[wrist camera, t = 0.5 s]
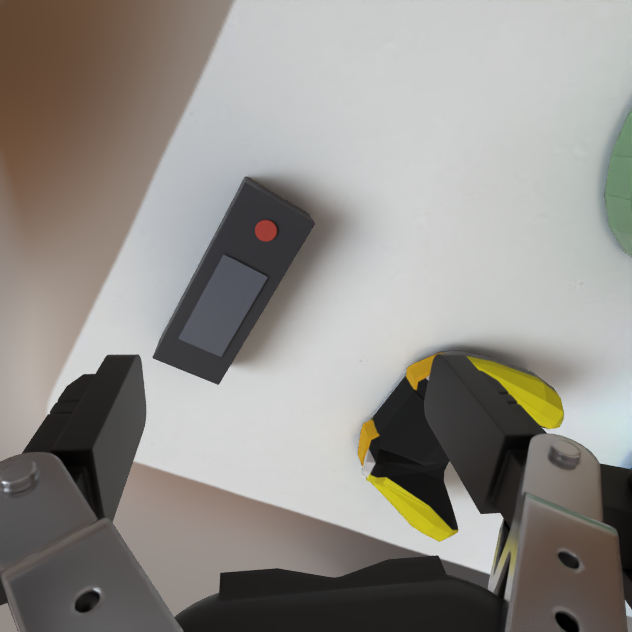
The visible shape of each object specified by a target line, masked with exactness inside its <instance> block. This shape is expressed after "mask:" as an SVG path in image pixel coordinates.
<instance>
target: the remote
mask: <svg viewBox="0 0 632 632" xmlns="http://www.w3.org/2000/svg"><path fill="white" fill-rule="evenodd" d="M314 224H315V223H314V221H313V219H312V218H311V216H310V214H308V213H307V212H305V211H303V210H301V209H300V208H298V207H296V206H295V205H293V204H291V203H290V202H288V201H286V200H284V199H283V198H281V197H279V196H278V195H276V194H274V193H273V192H271V191H269V190H268V189H266V188H264V187H262V186H261V185H259V184H257V183H256V182H254V181H252V180H251V179H249V178H247V177H245V178H244V180H243V181H242V183H241V185H240V187H239V189H238V191H237V193H236V195H235V197H234V199H233V201H232V202H231V204H230V206H229V208H228V210H227V212H226V214H225V216H224V218H223V220H222V222H221V223H220V225H219V227H218V229H217V231H216V233H215V235H214V237H213V239H212V241H211V243H210V244H209V246H208V248H207V250H206V252H205V254H204V256H203V258H202V260H201V262H200V264H199V266H198V267H197V269H196V271H195V273H194V275H193V277H192V279H191V281H190V283H189V285H188V287H187V288H186V290H185V292H184V294H183V296H182V298H181V300H180V302H179V304H178V306H177V308H176V309H175V311H174V313H173V315H172V317H171V319H170V321H169V323H168V325H167V327H166V329H165V331H164V332H163V334H162V336H161V338H160V340H159V343H158V345H157V348H156V350H155V353H154V355H153V358H154V359H156V360H159V361H161V362H163V363H166V364H168V365H171V366H173V367H176V368H178V369H181V370H183V371H186V372H188V373H191V374H193V375H196V376H198V377H200V378H203V379H205V380H208V381H210V382H213V383H215V384H218V385H219V383H220V382H221V380H222V378H223V377H224V375H225V373H226V372H227V370H228V368H229V367H230V365H231V363H232V362H233V360H234V358H235V357H236V355H237V353H238V352H239V350H240V348H241V346H242V345H243V343H244V341H245V340H246V338H247V336H248V335H249V333H250V331H251V330H252V328H253V326H254V325H255V323H256V321H257V320H258V318H259V316H260V315H261V313H262V311H263V310H264V308H265V306H266V305H267V303H268V301H269V300H270V298H271V296H272V295H273V293H274V291H275V290H276V288H277V286H278V285H279V283H280V281H281V280H282V278H283V276H284V275H285V273H286V271H287V269H288V268H289V266H290V264H291V263H292V261H293V259H294V258H295V256H296V254H297V253H298V251H299V249H300V248H301V246H302V244H303V243H304V241H305V239H306V238H307V236H308V234H309V233H310V231H311V229H312V228H313V226H314Z"/></svg>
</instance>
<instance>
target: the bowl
mask: <svg viewBox="0 0 632 632" xmlns="http://www.w3.org/2000/svg"><path fill="white" fill-rule="evenodd" d="M605 202H606V209H607V216H608V223H609V227H610V229H611V231H612V232H613V234H614V236H615V237H616V239H617V241H618V243H619V244H620V246H621V248H622V249H623V251H624V252H625V253H626V254H628V255H629V256H631V257H632V110H631V111H630V113H629V114H628V116H627V119H626V121H625V123H624V125H623V128H622V130H621V132H620V135H619V137H618V139H617V142H616V144H615V146H614V149H613V151H612V153H611V158H610V164H609V170H608V176H607V182H606V189H605Z"/></svg>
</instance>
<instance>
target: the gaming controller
mask: <svg viewBox="0 0 632 632" xmlns="http://www.w3.org/2000/svg"><path fill="white" fill-rule="evenodd" d="M437 354H464V355H465V356H467V358H468V359H469V360H470V361H471V362H472V363H473V364H474V365H475V367H476V368H477V369H478V370H479V371H483V372H485V373H486V374H488V375H490V376H491V377H493V378H495V379H496V380H498V381H499V382H500V383H501V384H502V386H503V387H504V388H505V389H506V390H507V391H508V392H509V394H511V395H512V396H513V397H514V398H515V400H516V401H517V404H520V405H521V406H522V407H523V408H524V409H525V410H526V411H527V412H528V414H529V415H530V416H531V417H532V418H533V419H534V420H535V421H536V422H537V423H538V424H539V425H540V426H541V427H543V428H547V429H553V428H558V427H560V425H561V424H562V421H563V419H564V411H563V406H562V402H561V398H560V397H559V395H558V394H557V392H556V391H555V389H554V388H553V387H551V386H550V385H549V384H547V383H546V382H545V381H543V380H542V379H541V378H539V377H538V376H537V375H535V374H534V373H533V372H531V371H528V370H525V369H522V368H519V367H517V366H514V365H511V364H508V363H505V362H503V361H500V360H497V359H494V358H492V357H489V356H484V355H478V354H473V353H467V352H462V351H448V352H439V353H437ZM437 354H435V355H437ZM435 355H433V356H430V357H428V358H426V359H423V360H421V361H419V362H416V363H414V364H413V365H411V366H409V367H408V368H407V373H406V376H405V377H404V379H403V380H402V381H401V382H400V384H399V385H398V386H397V387H396V389H395V390H394V391H393V392H392V394H391V395H390V396H389V398H388V399H387V400H386V401H385V403H384V404H383V405H382V406H381V408H380V409H379V410H378V411H377V413H376V414H375V415H374V417H373V418H372V420H370V421H368V422H366V423H364V424H363V426H362V429H361V434H360V441H359V447H358V456H359V459H360V462H361V464H362V467H363V468H362V474H364V475H365V476H366V479H367V481H370V482H371V483H372V484H373V485H374V486H375V487H376V488H377V489H378V490H379V491H380V492H381V493H382V494H383V495H384V497H385V498H386V499H387V500H388V501H389V502H390V503H391V504H392V505H393V506H394V507H395V508H396V510H397V511H398V512H399V513H400V514H401V515H402V516H403V517H404V518H405V519H406V520H407V521H408V522H409V524H410V525H411V526H412V527H414V528H415V529H417V530H419V531H420V532H422V533H423V534H425V535H427V536H429V537H431V538H433V539H435V540H437V541H439V542H440V541H442V540H444V539H446V538H448V537H451V536H452V535H454V534H456V533H457V532H458V526H457V522H456V519H455V515H454V512H453V508H452V505H451V502H450V499H449V496H448V493H447V490H446V487H445V484H444V471H445V469H446V466H447V464H448V462H449V461H450V460H449V458H448V456H447V455H446V453H445V451H444V449H443V448H442V446H441V444H440V443H439V441H438V439H437V437H436V436H435V434H434V432H433V430H432V429H431V427H430V425H429V423H428V422H427V419H426V416H425V411H424V400H425V395H426V390H427V385H428V380H429V376H430V371H431V366H432V362H433V359H434V357H435Z"/></svg>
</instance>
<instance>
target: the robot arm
mask: <svg viewBox="0 0 632 632" xmlns="http://www.w3.org/2000/svg"><path fill="white" fill-rule="evenodd" d="M424 411H425V416H426V419H427V422H428V423H429V425H430V427H431V429H432V430H433V432H434V434H435V436H436V437H437V439H438V441H439V443H440V444H441V446H442V448H443V449H444V451H445V453H446V455H447V456H448V458H449V460H450V462H451V463H452V465H453V467H454V469H455V470H456V472H457V474H458V476H459V477H460V479H461V481H462V482H463V484H464V486H465V488H466V489H467V491H468V493H469V495H470V496H471V498H472V500H473V502H474V503H475V505H476V507H477V508H478V510H479V512H480V514H488V513H501V515H502V516H503V518H504V519H503V522H502V525H501V527H500V531H499V536H498V541H497V546H496V551H495V555H494V560H493V565H492V570H491V575H490V580H489V585H488V589H485V588H483V587H481V586H479V585H477V584H475V583H472V582H470V581H468V580H465V579H462V578H459V577H455V576H452V575H447V574H446V572H445V570H444V568H443V565H442V563H441V561H440V558H439V556H426V557H414V558H401V559H389V560H385V561H383V562H380V563H378V564H374V565H372V566H369V567H366V568H363V569H361V570H358V571H355V572H352V573H350V574H347V575H344V576H341V577H336V578H332V577H325V576H319V575H313V574H307V573H302V572H296V571H290V570H283V569H277V568H276V569H264V570H252V571H239V572H226V573H221V574H220V590H219V593H217V594H214V595H212V596H208V597H206V598H204V599H202V600H200V601H198V602H196V603H194V604H193V605H191V606H190V607H188V608H186V609H185V610H183V611H182V612H180V613H179V614H178V615H176V616H175V617H174V616H173V615H172V613H171V611H170V610H169V608H168V607H167V605H166V604H165V602H164V601H163V599H162V598H161V596H160V595H159V593H158V591H157V590H156V589H155V587H154V585H153V584H152V582H151V581H150V579H149V578H148V576H147V575H146V573H145V572H144V570H143V569H142V567H141V566H140V564H139V563H138V561H137V560H136V558H135V556H134V555H133V553H132V552H131V551H130V549H129V548H128V546H127V544H126V543H125V541H124V540H123V538H122V537H121V535H120V534H119V532H118V530H117V529H116V527H115V526H114V525H113V523H112V522H113V519H114V516H115V513H116V510H117V508H118V505H119V502H120V499H121V496H122V493H123V489H124V487H125V484H126V481H127V478H128V475H129V472H130V469H131V466H132V463H133V460H134V457H135V454H136V451H137V448H138V445H139V442H140V439H141V436H142V433H143V430H144V427H145V421H146V399H145V390H144V380H143V371H142V362H141V358H140V356H139V355H107V356H106V357H105V359H104V361H103V362H102V364H101V366H100V367H99V369H98V371H97V372H96V374H84V375H82V376H81V377H79V378H78V379H77V380H75V381H74V382H72V383H71V384H69V385H68V386H67V387H66V389H65V390H64V392H63V393H62V394H61V396H60V397H59V399H58V403H55V405H54V406H53V408H52V409H51V411H50V414H48V415H47V417H46V418H45V420H44V421H43V423H42V424H41V426H40V427H39V429H38V430H37V432H36V433H35V435H34V436H33V438H32V439H31V441H30V442H29V444H28V445H27V447H26V448H25V449H24V451H23V453H22V454H19V455H16V456H13V457H10V458H8V459H5V460H3V461H1V462H0V605H3V604H5V603H8V605H9V608H10V610H11V614H12V616H13V619H14V622H15V625H16V628H17V630H18V632H628V629H627V618H626V608H625V600H626V602H627V603H628V605H629V606H630V607H631V609H632V470H631V469H626V468H621V467H615V466H610V465H605V464H600V463H599V462H598V460H597V458H596V457H595V456H594V455H593V454H592V452H590V451H589V450H588V449H587V448H585V447H584V446H583V445H581V444H579V443H577V442H576V441H573V440H571V439H569V438H566V437H563V436H560V435H555V434H547V433H546V432H545V431H544V430H543V429H542V428H541V426H540V425H539V424H538V423H537V422H536V421H535V420H534V419H533V418H532V417H531V416H530V415H529V414H528V412H527V411H526V410H525V409H524V408H523V407H522V406H521V405H520V404H517V401H516V400H515V398H514V397H513V396H512V395H511V394H509V392H508V391H507V390H506V389H505V388H504V387H503V386H502V384H501V383H500V382H499V381H498V380H496V379H495V378H493V377H491V376H490V375H488V374H486V373H485V372H483V371H479V370H478V369H477V368H476V367H475V365H474V364H473V363H472V362H471V361H470V360H469V359H468V358H467V356H465V355H464V354H437V355H435V357H434V359H433V362H432V366H431V371H430V376H429V380H428V385H427V390H426V395H425V400H424Z"/></svg>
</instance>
